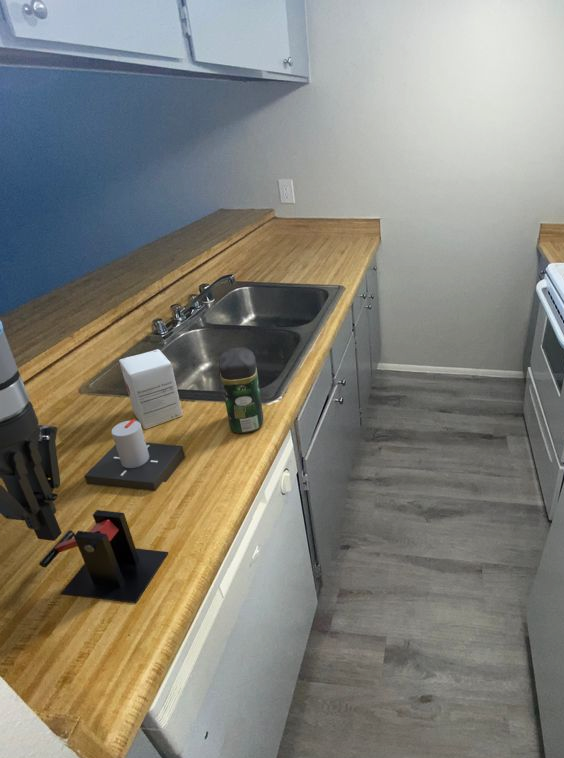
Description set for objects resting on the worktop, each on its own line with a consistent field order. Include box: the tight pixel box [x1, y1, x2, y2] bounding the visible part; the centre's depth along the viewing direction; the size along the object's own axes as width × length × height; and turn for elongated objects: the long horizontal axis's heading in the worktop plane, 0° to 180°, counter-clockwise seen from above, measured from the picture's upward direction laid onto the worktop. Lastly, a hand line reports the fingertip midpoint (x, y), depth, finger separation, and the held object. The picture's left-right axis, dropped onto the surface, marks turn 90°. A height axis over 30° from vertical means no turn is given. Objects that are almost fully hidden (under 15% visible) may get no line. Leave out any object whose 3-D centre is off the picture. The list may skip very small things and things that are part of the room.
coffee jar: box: [218, 347, 264, 434], centre depth 108 cm, size 10×8×19 cm
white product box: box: [118, 348, 183, 430], centre depth 110 cm, size 9×9×15 cm
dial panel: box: [84, 442, 186, 492], centre depth 96 cm, size 14×11×3 cm
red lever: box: [38, 519, 119, 568], centre depth 72 cm, size 12×6×2 cm, turn 84°
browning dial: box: [111, 418, 149, 468], centre depth 93 cm, size 5×5×8 cm
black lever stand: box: [60, 509, 169, 604], centre depth 73 cm, size 12×9×12 cm
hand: (50, 535), depth 73 cm, fingers closed
